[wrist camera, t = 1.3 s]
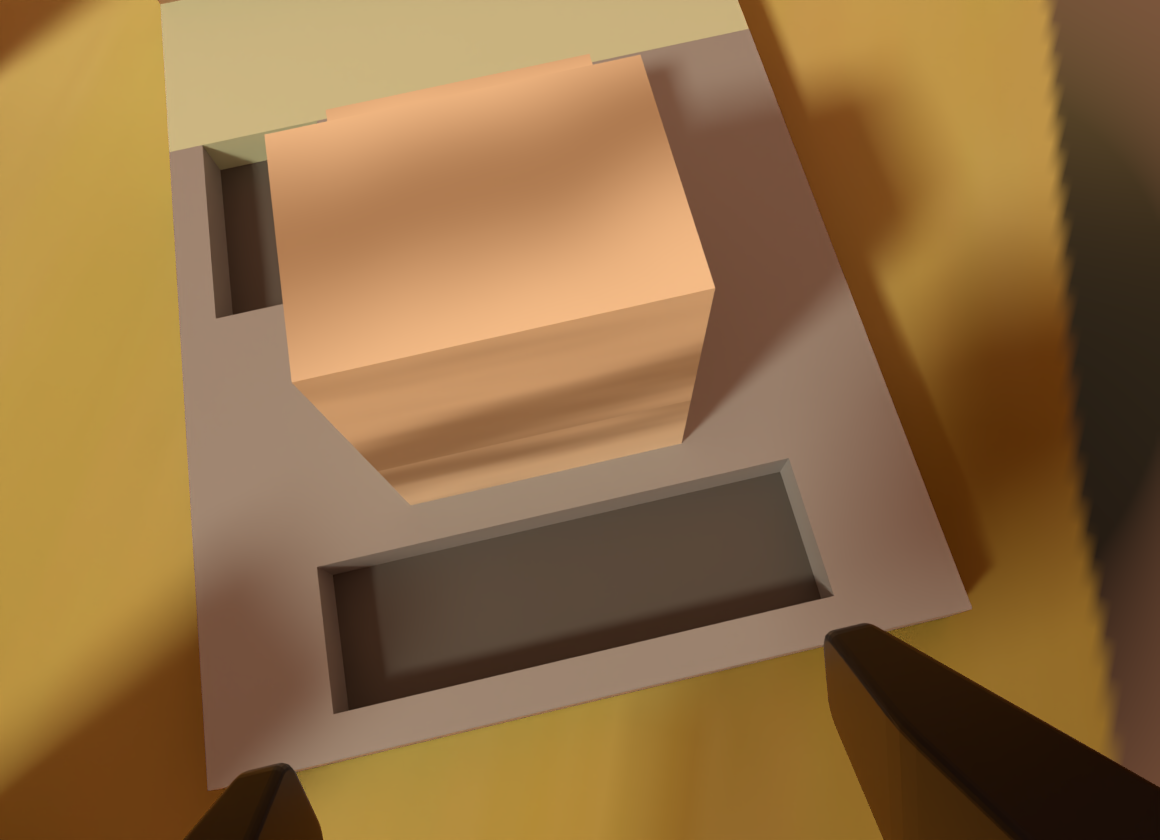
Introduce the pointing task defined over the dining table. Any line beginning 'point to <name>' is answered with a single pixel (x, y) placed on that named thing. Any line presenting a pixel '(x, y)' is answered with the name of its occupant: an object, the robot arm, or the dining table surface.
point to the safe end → (381, 53)
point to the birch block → (492, 275)
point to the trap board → (546, 484)
